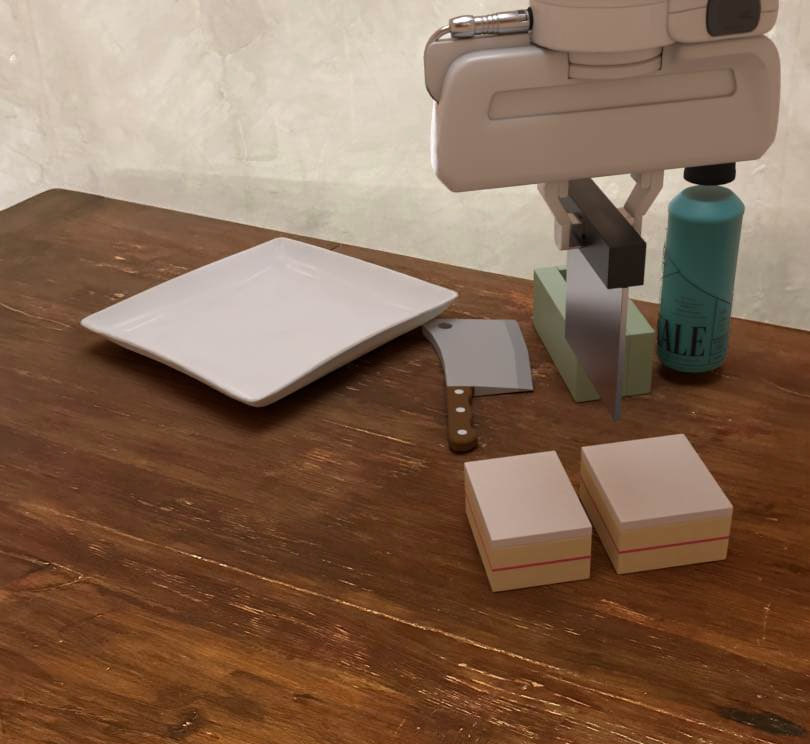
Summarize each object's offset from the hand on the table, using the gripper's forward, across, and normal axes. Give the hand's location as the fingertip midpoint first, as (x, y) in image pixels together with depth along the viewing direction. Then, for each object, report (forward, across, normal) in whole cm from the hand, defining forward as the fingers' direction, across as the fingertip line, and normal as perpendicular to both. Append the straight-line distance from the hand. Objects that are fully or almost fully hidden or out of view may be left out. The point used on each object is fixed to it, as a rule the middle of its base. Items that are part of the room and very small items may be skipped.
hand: (597, 243), depth 70 cm
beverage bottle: (+23, +16, +22) cm, 35 cm away
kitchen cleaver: (+23, -3, +25) cm, 34 cm away
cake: (+23, +5, 0) cm, 23 cm away
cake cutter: (+9, 0, 0) cm, 9 cm away
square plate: (+23, -21, +39) cm, 50 cm away
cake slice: (+23, -4, 0) cm, 23 cm away
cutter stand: (+23, +8, +27) cm, 36 cm away
